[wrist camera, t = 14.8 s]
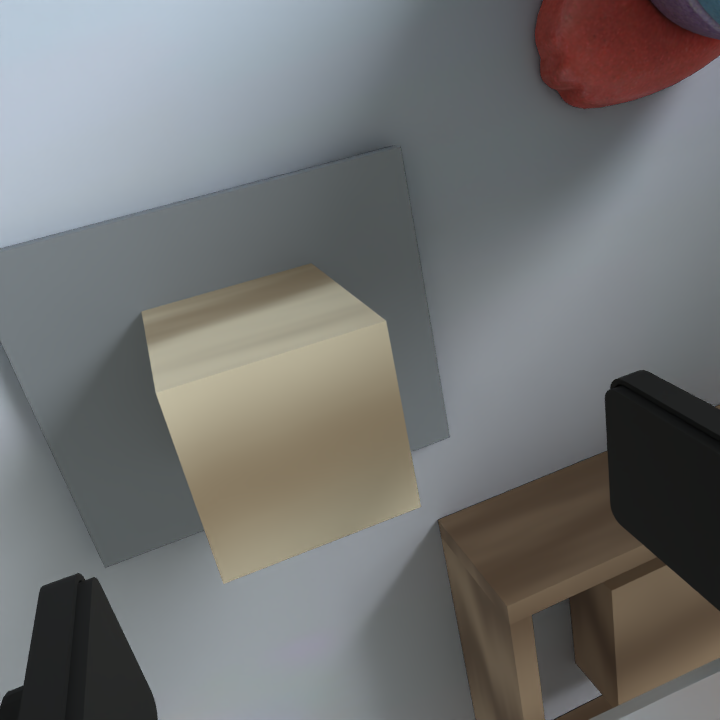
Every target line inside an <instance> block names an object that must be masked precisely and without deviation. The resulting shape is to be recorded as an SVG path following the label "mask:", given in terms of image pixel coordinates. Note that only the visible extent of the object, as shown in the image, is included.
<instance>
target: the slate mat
mask: <svg viewBox="0 0 720 720" xmlns="http://www.w3.org/2000/svg"><path fill="white" fill-rule="evenodd" d="M310 263H312V264H313V265H314V266H316V267H317V268H318V269H320V270H321V271H322V272H323V273H325V274H326V275H327V276H329V277H330V278H331V279H333V280H334V281H335V282H336V283H338V284H339V285H340V286H342V287H343V288H344V289H346V290H347V291H348V292H349V293H351V294H352V295H353V296H355V297H356V298H357V299H359V300H360V301H361V302H362V303H364V304H365V305H366V306H368V307H369V308H370V309H372V310H373V311H374V312H375V313H377V314H378V315H379V316H381V317H382V318H383V319H385V320H386V322H387V328H388V333H389V339H390V344H391V349H392V355H393V360H394V365H395V371H396V376H397V381H398V387H399V392H400V397H401V403H402V408H403V413H404V419H405V424H406V430H407V435H408V440H409V446H410V451H411V452H412V451H415V450H418V449H420V448H423V447H426V446H428V445H431V444H434V443H436V442H439V441H441V440H444V439H447V438H449V437H450V435H449V429H448V423H447V417H446V411H445V406H444V400H443V394H442V388H441V382H440V376H439V370H438V364H437V358H436V352H435V347H434V341H433V335H432V329H431V323H430V317H429V311H428V305H427V299H426V293H425V288H424V282H423V276H422V270H421V264H420V258H419V252H418V246H417V240H416V234H415V229H414V223H413V217H412V211H411V205H410V199H409V193H408V187H407V181H406V175H405V170H404V164H403V158H402V152H401V147H397V146H390V147H387V148H383V149H379V150H375V151H371V152H368V153H364V154H360V155H356V156H352V157H348V158H345V159H341V160H337V161H333V162H329V163H325V164H322V165H318V166H314V167H310V168H306V169H302V170H299V171H295V172H291V173H287V174H283V175H280V176H276V177H272V178H268V179H264V180H260V181H257V182H253V183H249V184H245V185H241V186H237V187H234V188H230V189H226V190H222V191H218V192H214V193H211V194H207V195H203V196H199V197H195V198H192V199H188V200H184V201H180V202H176V203H172V204H169V205H165V206H161V207H157V208H153V209H149V210H146V211H142V212H138V213H134V214H130V215H126V216H123V217H119V218H115V219H111V220H107V221H104V222H100V223H96V224H92V225H88V226H84V227H81V228H77V229H73V230H69V231H65V232H61V233H58V234H54V235H50V236H46V237H42V238H38V239H35V240H31V241H27V242H23V243H19V244H16V245H12V246H8V247H4V248H0V342H1V344H2V346H3V348H4V350H5V352H6V355H7V357H8V359H9V361H10V363H11V365H12V368H13V370H14V372H15V374H16V376H17V378H18V381H19V383H20V385H21V387H22V389H23V391H24V394H25V396H26V398H27V400H28V402H29V404H30V406H31V409H32V411H33V413H34V415H35V417H36V419H37V422H38V424H39V426H40V428H41V430H42V432H43V435H44V437H45V439H46V441H47V443H48V445H49V448H50V450H51V452H52V454H53V456H54V458H55V461H56V463H57V465H58V467H59V469H60V471H61V474H62V476H63V478H64V480H65V482H66V484H67V487H68V489H69V491H70V493H71V495H72V497H73V499H74V502H75V504H76V506H77V508H78V510H79V512H80V515H81V517H82V519H83V521H84V523H85V525H86V528H87V530H88V532H89V534H90V536H91V538H92V541H93V543H94V545H95V547H96V549H97V551H98V554H99V556H100V558H101V560H102V562H103V564H104V567H105V568H106V567H109V566H111V565H114V564H117V563H119V562H122V561H125V560H127V559H130V558H132V557H135V556H138V555H140V554H143V553H146V552H148V551H151V550H154V549H156V548H159V547H162V546H164V545H167V544H169V543H172V542H175V541H177V540H180V539H183V538H185V537H188V536H191V535H193V534H196V533H199V532H201V531H204V527H203V525H202V522H201V519H200V516H199V513H198V511H197V508H196V505H195V502H194V499H193V497H192V494H191V491H190V488H189V485H188V482H187V480H186V477H185V474H184V471H183V468H182V466H181V463H180V460H179V457H178V454H177V452H176V449H175V446H174V443H173V440H172V438H171V435H170V432H169V429H168V426H167V423H166V421H165V418H164V415H163V412H162V409H161V407H160V404H159V401H158V398H157V395H156V392H155V386H154V381H153V375H152V369H151V363H150V358H149V352H148V346H147V340H146V335H145V329H144V323H143V318H142V312H141V311H145V310H148V309H152V308H155V307H159V306H162V305H166V304H169V303H173V302H177V301H180V300H184V299H187V298H191V297H194V296H198V295H201V294H205V293H208V292H212V291H215V290H219V289H222V288H226V287H229V286H233V285H236V284H240V283H243V282H247V281H250V280H254V279H257V278H261V277H265V276H268V275H272V274H275V273H279V272H282V271H286V270H289V269H293V268H296V267H300V266H303V265H307V264H310Z"/></svg>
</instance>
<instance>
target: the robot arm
mask: <svg viewBox="0 0 720 720" xmlns="http://www.w3.org/2000/svg"><path fill="white" fill-rule="evenodd" d="M605 410H606V430H607V450H608V470H609V491H610V506H611V510H612V513H613V515H614V517H615V519H616V520H617V522H618V523H619V524H620V525H621V526H622V527H623V528H624V529H626V530H627V531H628V532H629V533H630V534H631V535H632V536H634V537H635V538H636V539H637V540H638V541H639V542H641V543H642V544H643V545H644V546H645V547H646V548H647V549H649V550H650V551H651V552H652V553H653V554H654V555H655V556H657V557H658V558H659V559H660V560H661V561H662V562H664V563H665V564H666V565H667V566H668V567H669V568H670V569H672V570H673V571H674V572H675V573H676V574H677V575H678V576H680V577H681V578H682V579H683V580H684V581H685V582H687V583H688V584H689V585H690V586H691V587H692V588H693V589H695V590H696V591H697V592H698V593H699V594H700V595H701V596H703V597H704V598H705V599H706V600H707V601H708V602H710V603H711V604H712V605H713V606H714V607H715V608H716V609H718V610H719V611H720V409H718V408H716V407H714V406H712V405H710V404H708V403H706V402H704V401H703V400H701V399H699V398H697V397H695V396H693V395H691V394H689V393H688V392H686V391H684V390H682V389H680V388H678V387H676V386H674V385H672V384H671V383H669V382H667V381H665V380H663V379H661V378H659V377H657V376H656V375H654V374H652V373H650V372H648V371H645V370H640V371H637V372H634V373H631V374H629V375H626V376H623V377H620V378H618V379H615V380H614V381H613V382H612V384H611V386H610V390H608V391H607V392H606V394H605ZM0 720H158V718H157V710H156V705H155V701H154V697H153V694H152V692H151V690H150V688H149V685H148V683H147V681H146V679H145V677H144V675H143V673H142V671H141V669H140V667H139V664H138V662H137V660H136V658H135V656H134V654H133V652H132V650H131V648H130V646H129V643H128V641H127V639H126V637H125V635H124V633H123V631H122V629H121V627H120V625H119V622H118V620H117V618H116V616H115V614H114V612H113V610H112V608H111V606H110V604H109V601H108V599H107V597H106V595H105V593H104V591H103V589H102V587H101V585H100V583H99V581H98V580H97V578H95V577H93V578H91V579H88V580H85V579H84V577H83V576H82V575H81V574H79V573H77V574H75V575H72V576H69V577H66V578H63V579H61V580H58V581H55V582H52V583H50V584H47V585H44V586H42V587H41V589H40V592H39V598H38V604H37V609H36V615H35V621H34V627H33V633H32V639H31V645H30V651H29V657H28V663H27V668H26V674H25V680H24V686H21V687H19V688H16V689H14V690H11V691H8V692H7V693H6V695H5V696H4V697H3V700H2V703H1V706H0ZM589 720H720V658H718V659H716V660H713V661H711V662H709V663H707V664H705V665H703V666H701V667H699V668H696V669H694V670H692V671H690V672H688V673H686V674H684V675H682V676H679V677H677V678H675V679H673V680H671V681H669V682H667V683H665V684H663V685H660V686H658V687H656V688H654V689H652V690H650V691H648V692H646V693H644V694H642V695H639V696H637V697H635V698H633V699H631V700H629V701H627V702H625V703H623V704H621V705H618V706H616V707H614V708H612V709H610V710H608V711H606V712H604V713H602V714H600V715H598V716H595V717H593V718H591V719H589Z"/></svg>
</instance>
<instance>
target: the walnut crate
mask: <svg viewBox="0 0 720 720" xmlns="http://www.w3.org/2000/svg"><path fill="white" fill-rule="evenodd" d="M716 408H718V409H720V405H718V406H716ZM438 523H439V528H440V534H441V539H442V544H443V550H444V555H445V560H446V565H447V571H448V576H449V581H450V586H451V592H452V597H453V602H454V608H455V613H456V618H457V623H458V629H459V634H460V639H461V645H462V650H463V655H464V660H465V666H466V671H467V676H468V681H469V687H470V692H471V697H472V703H473V708H474V713H475V718H476V720H545V717H544V709H543V701H542V693H541V685H540V677H539V669H538V661H537V654H536V646H535V638H534V630H533V622H532V615H533V614H535V613H537V612H539V611H541V610H544V609H546V608H548V607H550V606H552V605H554V604H557V603H559V602H561V601H563V600H565V599H567V598H569V599H570V610H571V620H572V631H573V642H574V652H575V663H576V664H577V665H578V667H579V668H580V669H581V670H582V671H583V672H584V674H585V675H586V676H587V677H588V678H589V680H590V681H591V682H592V683H593V684H594V686H595V687H596V688H597V689H598V690H599V691H600V693H601V694H602V696H600V697H598V698H596V699H594V700H592V701H590V702H588V703H586V704H584V705H582V706H581V707H579V708H577V709H575V710H573V711H571V712H569V713H567V714H565V715H563V716H561V717H559V718H557V719H555V720H589V719H591V718H593V717H595V716H598V715H600V714H602V713H604V712H606V711H608V710H610V709H612V708H614V707H616V706H618V705H621V704H623V703H625V702H627V701H629V700H631V699H633V698H635V697H637V696H639V695H642V694H644V693H646V692H648V691H650V690H652V689H654V688H656V687H658V686H660V685H663V684H665V683H667V682H669V681H671V680H673V679H675V678H677V677H679V676H682V675H684V674H686V673H688V672H690V671H692V670H694V669H696V668H699V667H701V666H703V665H705V664H707V663H709V662H711V661H713V660H716V659H718V658H720V611H719V610H718V609H716V608H715V607H714V606H713V605H712V604H711V603H710V602H708V601H707V600H706V599H705V598H704V597H703V596H701V595H700V594H699V593H698V592H697V591H696V590H695V589H693V588H692V587H691V586H690V585H689V584H688V583H687V582H685V581H684V580H683V579H682V578H681V577H680V576H678V575H677V574H676V573H675V572H674V571H673V570H672V569H670V568H669V567H668V566H667V565H666V564H665V563H664V562H662V561H661V560H660V559H659V558H658V557H657V556H655V555H654V554H653V553H652V552H651V551H650V550H649V549H647V548H646V547H645V546H644V545H643V544H642V543H641V542H639V541H638V540H637V539H636V538H635V537H634V536H632V535H631V534H630V533H629V532H628V531H627V530H626V529H624V528H623V527H622V526H621V525H620V524H619V523H618V522H617V520H616V519H615V517H614V515H613V513H612V510H611V506H610V491H609V470H608V451H605V452H603V453H600V454H598V455H596V456H593V457H591V458H588V459H586V460H583V461H581V462H578V463H576V464H573V465H571V466H569V467H566V468H564V469H561V470H559V471H556V472H554V473H551V474H549V475H547V476H544V477H542V478H539V479H537V480H534V481H532V482H529V483H527V484H525V485H522V486H520V487H517V488H515V489H512V490H510V491H507V492H505V493H502V494H500V495H498V496H495V497H493V498H490V499H488V500H485V501H483V502H480V503H478V504H476V505H473V506H471V507H468V508H466V509H463V510H461V511H458V512H456V513H453V514H451V515H449V516H446V517H444V518H441V519H439V520H438Z"/></svg>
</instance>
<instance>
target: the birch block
mask: <svg viewBox="0 0 720 720" xmlns="http://www.w3.org/2000/svg"><path fill="white" fill-rule="evenodd" d="M141 312H142V318H143V323H144V329H145V335H146V340H147V346H148V352H149V358H150V363H151V369H152V375H153V381H154V386H155V392H156V395H157V398H158V401H159V404H160V407H161V409H162V412H163V415H164V418H165V421H166V423H167V426H168V429H169V432H170V435H171V438H172V440H173V443H174V446H175V449H176V452H177V454H178V457H179V460H180V463H181V466H182V468H183V471H184V474H185V477H186V480H187V482H188V485H189V488H190V491H191V494H192V497H193V499H194V502H195V505H196V508H197V511H198V513H199V516H200V519H201V522H202V525H203V527H204V530H205V533H206V536H207V539H208V541H209V544H210V547H211V550H212V553H213V556H214V558H215V561H216V564H217V567H218V570H219V572H220V575H221V578H222V581H223V584H225V583H227V582H230V581H232V580H235V579H238V578H240V577H243V576H245V575H248V574H250V573H253V572H256V571H258V570H261V569H263V568H266V567H268V566H271V565H274V564H276V563H279V562H281V561H284V560H286V559H289V558H291V557H294V556H297V555H299V554H302V553H304V552H307V551H309V550H312V549H315V548H317V547H320V546H322V545H325V544H327V543H330V542H332V541H335V540H338V539H340V538H343V537H345V536H348V535H350V534H353V533H356V532H358V531H361V530H363V529H366V528H368V527H371V526H374V525H376V524H379V523H381V522H384V521H386V520H389V519H391V518H394V517H397V516H399V515H402V514H404V513H407V512H409V511H412V510H415V509H417V508H420V507H421V505H420V499H419V494H418V488H417V483H416V478H415V472H414V467H413V462H412V456H411V451H410V446H409V440H408V435H407V430H406V424H405V419H404V413H403V408H402V403H401V397H400V392H399V387H398V381H397V376H396V371H395V365H394V360H393V355H392V349H391V344H390V339H389V333H388V328H387V322H386V320H385V319H383V318H382V317H381V316H379V315H378V314H377V313H375V312H374V311H373V310H372V309H370V308H369V307H368V306H366V305H365V304H364V303H362V302H361V301H360V300H359V299H357V298H356V297H355V296H353V295H352V294H351V293H349V292H348V291H347V290H346V289H344V288H343V287H342V286H340V285H339V284H338V283H336V282H335V281H334V280H333V279H331V278H330V277H329V276H327V275H326V274H325V273H323V272H322V271H321V270H320V269H318V268H317V267H316V266H314V265H313V264H312V263H310V264H307V265H303V266H300V267H296V268H293V269H289V270H286V271H282V272H279V273H275V274H272V275H268V276H265V277H261V278H257V279H254V280H250V281H247V282H243V283H240V284H236V285H233V286H229V287H226V288H222V289H219V290H215V291H212V292H208V293H205V294H201V295H198V296H194V297H191V298H187V299H184V300H180V301H177V302H173V303H169V304H166V305H162V306H159V307H155V308H152V309H148V310H145V311H141Z"/></svg>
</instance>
